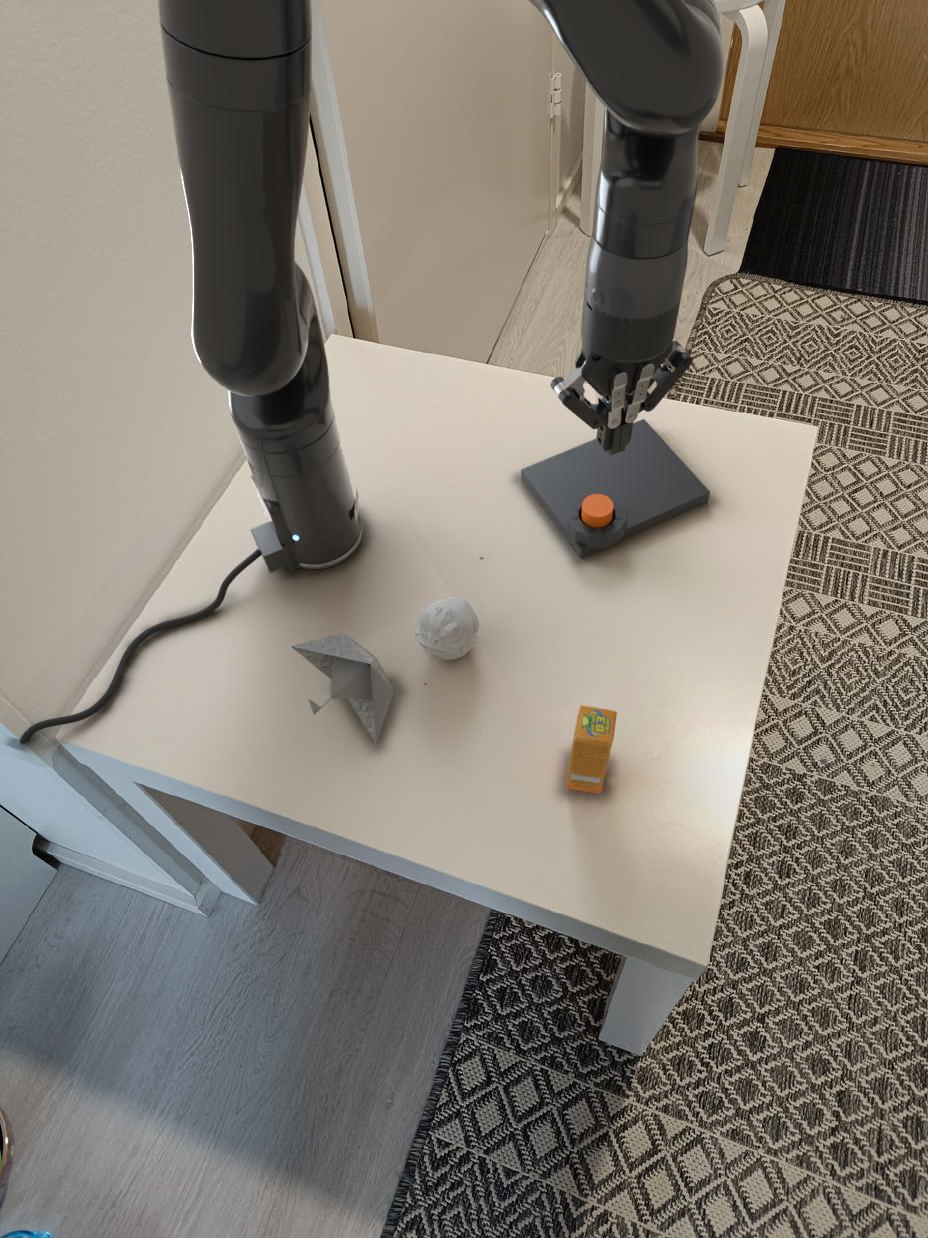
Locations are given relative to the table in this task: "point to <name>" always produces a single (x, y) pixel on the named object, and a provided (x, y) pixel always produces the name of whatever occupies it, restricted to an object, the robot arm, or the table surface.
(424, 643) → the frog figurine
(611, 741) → the supplement box
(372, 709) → the gray faceted winged figurine
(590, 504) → the tare button
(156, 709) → the table surface
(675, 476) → the scale
